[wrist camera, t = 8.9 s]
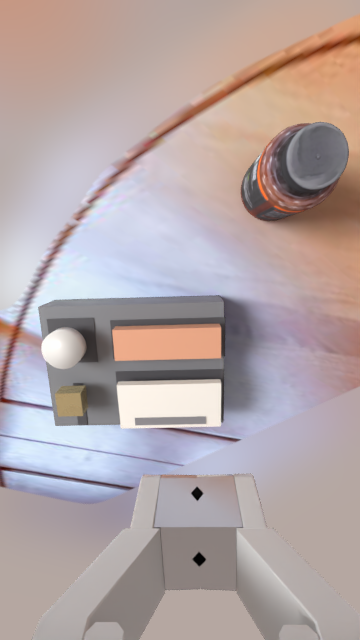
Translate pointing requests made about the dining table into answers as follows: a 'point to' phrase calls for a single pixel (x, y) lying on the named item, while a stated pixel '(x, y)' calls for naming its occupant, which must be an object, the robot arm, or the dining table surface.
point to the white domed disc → (63, 348)
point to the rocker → (169, 403)
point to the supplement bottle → (295, 171)
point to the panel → (99, 360)
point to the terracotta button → (167, 342)
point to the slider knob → (71, 401)
